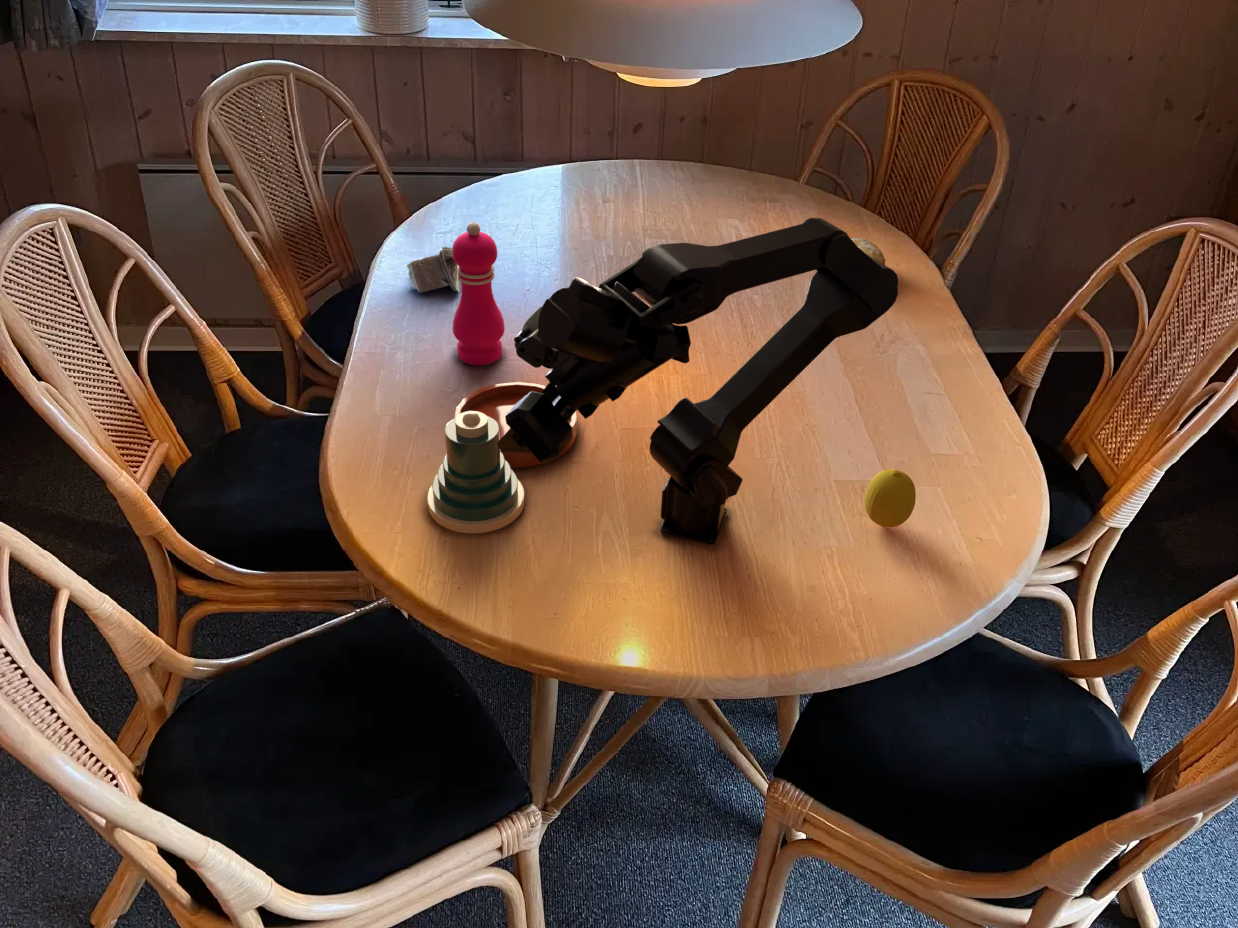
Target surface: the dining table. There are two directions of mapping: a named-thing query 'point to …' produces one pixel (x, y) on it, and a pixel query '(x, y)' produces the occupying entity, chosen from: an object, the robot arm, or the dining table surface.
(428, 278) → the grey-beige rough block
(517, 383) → the tagine base
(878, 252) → the fruit
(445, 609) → the dining table surface
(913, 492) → the lemon
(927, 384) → the dining table surface
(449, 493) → the tagine lid
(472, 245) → the pepper mill
